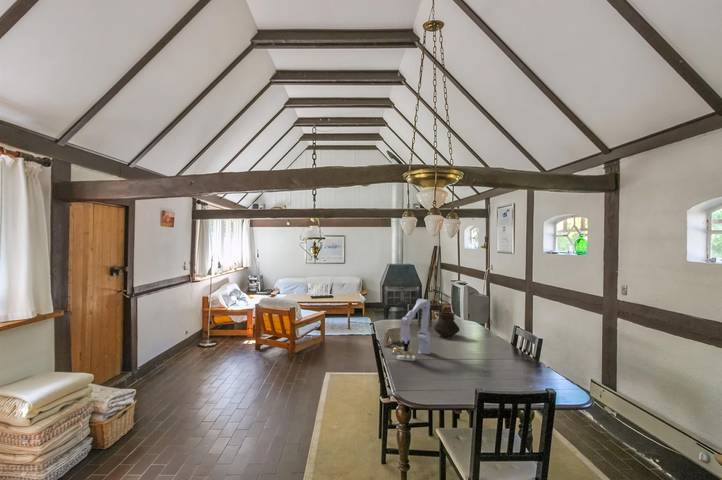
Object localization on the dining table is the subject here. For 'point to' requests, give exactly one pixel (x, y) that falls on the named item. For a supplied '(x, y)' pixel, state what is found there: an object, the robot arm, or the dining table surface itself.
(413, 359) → the peg rack
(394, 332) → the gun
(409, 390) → the dining table surface
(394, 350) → the ring nut
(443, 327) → the ceramic pot
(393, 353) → the nut plinth
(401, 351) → the maple spanner
